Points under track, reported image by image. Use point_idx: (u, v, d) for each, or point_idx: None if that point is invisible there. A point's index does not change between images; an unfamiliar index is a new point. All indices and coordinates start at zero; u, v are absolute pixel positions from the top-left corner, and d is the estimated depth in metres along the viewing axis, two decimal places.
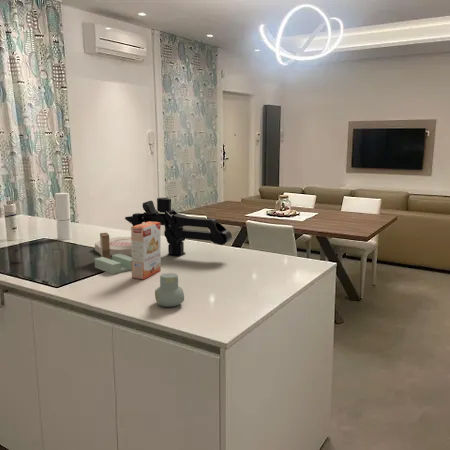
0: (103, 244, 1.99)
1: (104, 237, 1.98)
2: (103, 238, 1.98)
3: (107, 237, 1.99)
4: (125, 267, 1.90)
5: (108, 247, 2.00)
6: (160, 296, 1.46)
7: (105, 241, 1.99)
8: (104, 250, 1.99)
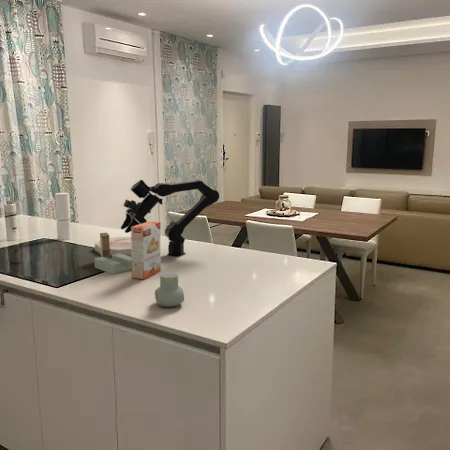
0: (103, 244, 1.99)
1: (104, 237, 1.98)
2: (103, 238, 1.98)
3: (107, 237, 1.99)
4: (125, 267, 1.90)
5: (108, 247, 2.00)
6: (160, 296, 1.46)
7: (105, 241, 1.99)
8: (104, 250, 1.99)
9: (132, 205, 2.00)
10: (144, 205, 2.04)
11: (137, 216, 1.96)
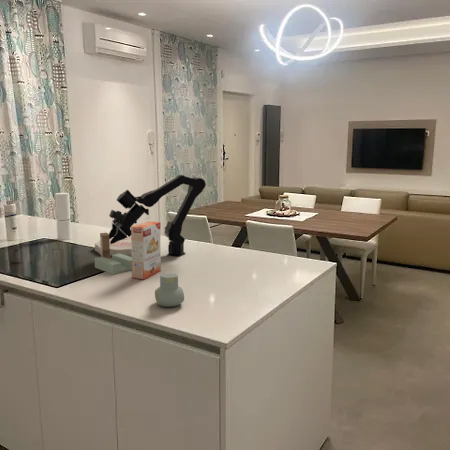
0: (103, 244, 1.99)
1: (104, 237, 1.98)
2: (103, 238, 1.98)
3: (107, 237, 1.99)
4: (125, 267, 1.90)
5: (108, 247, 2.00)
6: (160, 296, 1.46)
7: (105, 241, 1.99)
8: (104, 250, 1.99)
9: (118, 216, 1.98)
10: (130, 215, 2.02)
11: (122, 227, 1.95)
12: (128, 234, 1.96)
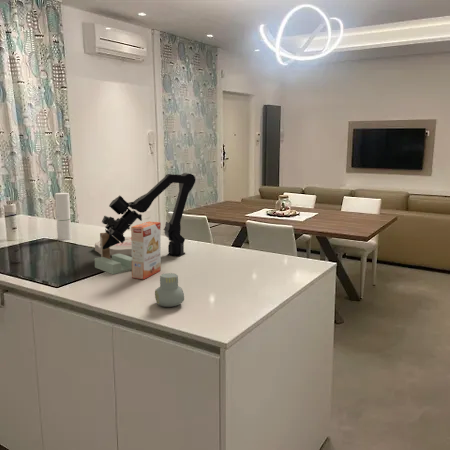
0: (103, 244, 1.99)
1: (104, 237, 1.98)
2: (103, 238, 1.98)
3: (107, 237, 1.99)
4: (125, 267, 1.90)
5: None
6: (160, 296, 1.46)
7: (105, 241, 1.99)
8: (104, 250, 1.99)
9: (110, 222, 1.97)
10: (123, 221, 2.01)
11: (115, 233, 1.94)
12: (121, 240, 1.95)
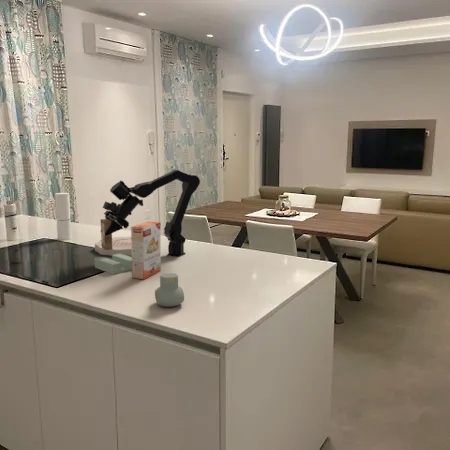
0: (105, 230, 1.94)
1: (106, 223, 1.94)
2: (105, 224, 1.94)
3: (109, 223, 1.94)
4: (125, 267, 1.90)
5: None
6: (160, 296, 1.46)
7: (107, 227, 1.94)
8: (106, 236, 1.95)
9: (113, 207, 1.93)
10: (125, 207, 1.97)
11: (119, 218, 1.90)
12: (125, 225, 1.92)
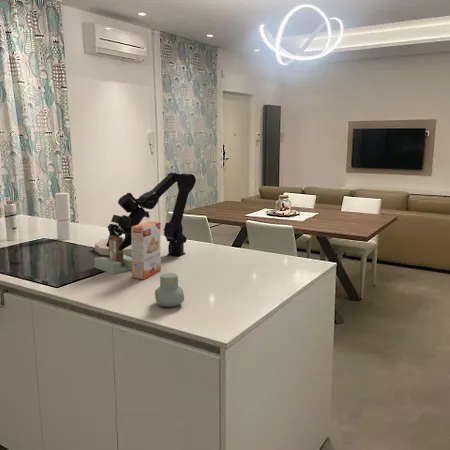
0: (117, 247, 1.88)
1: (118, 240, 1.88)
2: (117, 241, 1.88)
3: (121, 240, 1.89)
4: (125, 267, 1.90)
5: (122, 250, 1.90)
6: (160, 296, 1.46)
7: (119, 244, 1.89)
8: (118, 254, 1.89)
9: (125, 220, 1.88)
10: (134, 219, 1.93)
11: None
12: None
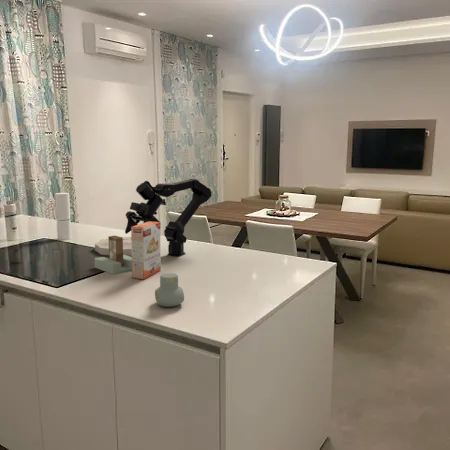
0: (117, 247, 1.88)
1: (118, 240, 1.88)
2: (117, 241, 1.88)
3: (121, 240, 1.89)
4: (125, 267, 1.90)
5: (122, 250, 1.90)
6: (160, 296, 1.46)
7: (119, 244, 1.89)
8: (118, 254, 1.89)
9: (143, 207, 1.94)
10: (151, 207, 1.99)
11: (152, 218, 1.92)
12: None
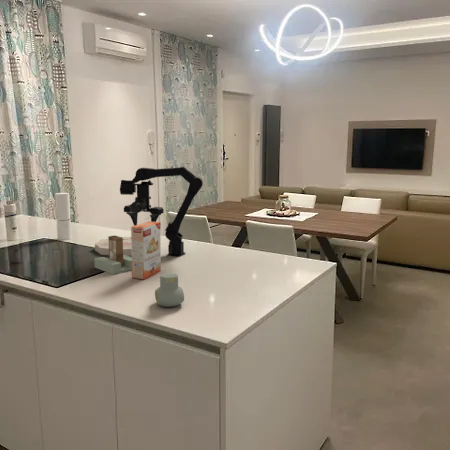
0: (117, 247, 1.88)
1: (118, 240, 1.88)
2: (117, 241, 1.88)
3: (121, 240, 1.89)
4: (125, 267, 1.90)
5: (122, 250, 1.90)
6: (160, 296, 1.46)
7: (119, 244, 1.89)
8: (118, 254, 1.89)
9: (144, 207, 2.05)
10: (146, 197, 2.09)
11: (158, 211, 2.07)
12: (162, 211, 2.11)
